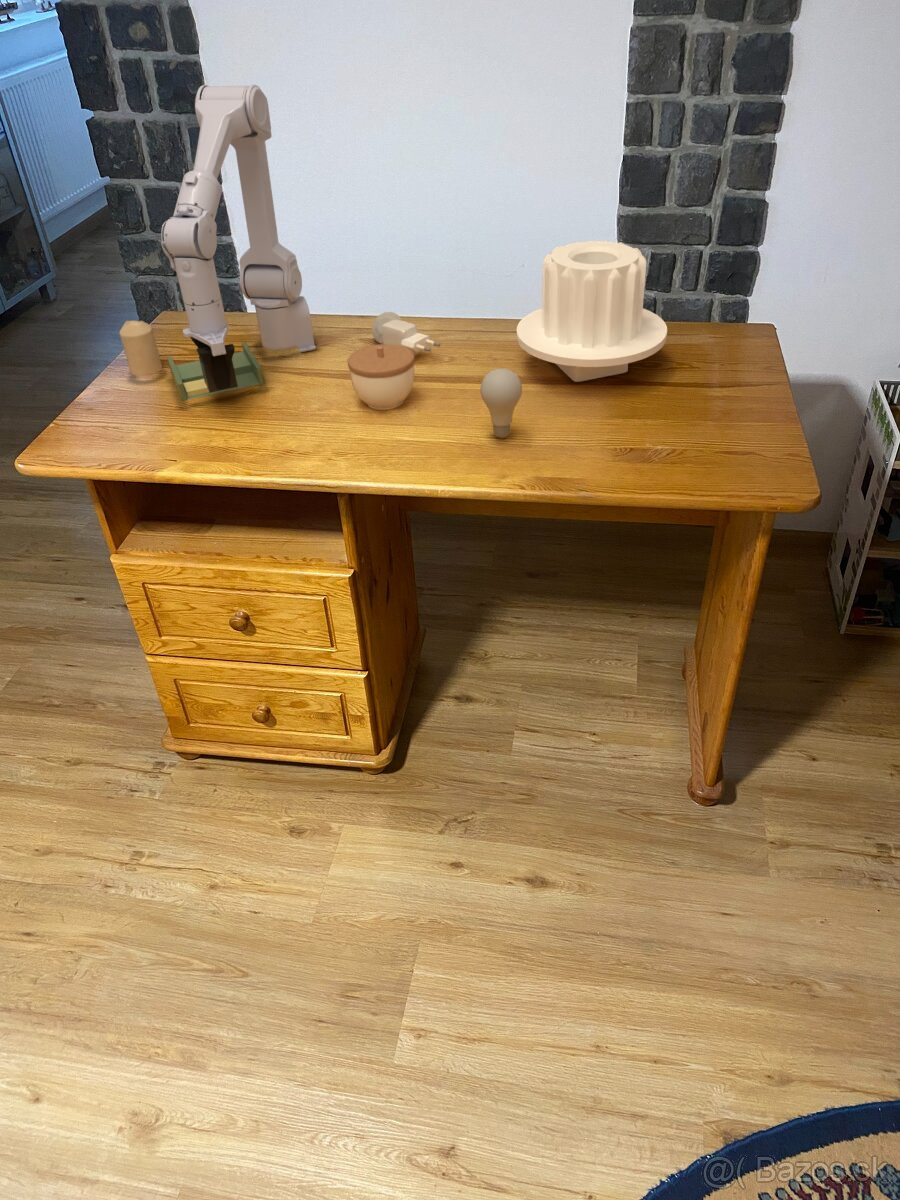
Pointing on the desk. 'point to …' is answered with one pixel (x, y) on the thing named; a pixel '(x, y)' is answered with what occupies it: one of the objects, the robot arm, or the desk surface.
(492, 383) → the lightbulb
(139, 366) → the candle
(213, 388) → the holder
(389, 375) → the trinket box
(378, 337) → the grey rounded piece
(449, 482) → the desk surface
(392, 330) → the power adapter
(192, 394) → the note pad
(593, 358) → the flanged gear
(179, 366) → the shelf
